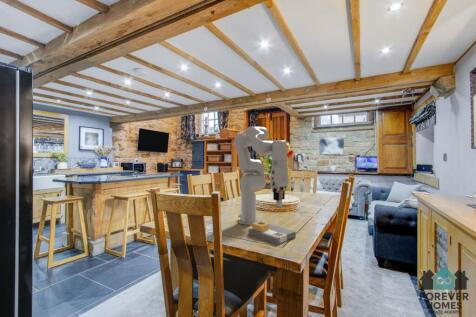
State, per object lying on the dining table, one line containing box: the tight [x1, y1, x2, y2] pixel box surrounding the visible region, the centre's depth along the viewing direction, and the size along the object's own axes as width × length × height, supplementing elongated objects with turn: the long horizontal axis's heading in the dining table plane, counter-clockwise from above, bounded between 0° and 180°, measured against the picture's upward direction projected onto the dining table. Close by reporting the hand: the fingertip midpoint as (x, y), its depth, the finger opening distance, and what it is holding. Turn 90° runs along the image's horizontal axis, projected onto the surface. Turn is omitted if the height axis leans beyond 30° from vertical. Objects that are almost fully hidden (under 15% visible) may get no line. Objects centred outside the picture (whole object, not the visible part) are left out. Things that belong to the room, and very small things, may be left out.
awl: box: [275, 189, 283, 209], centre depth 118 cm, size 4×4×9 cm
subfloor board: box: [247, 223, 297, 245], centre depth 126 cm, size 20×16×3 cm
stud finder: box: [251, 221, 270, 232], centre depth 127 cm, size 7×6×3 cm
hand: (278, 199), depth 118 cm, fingers closed on awl, 4 cm apart
